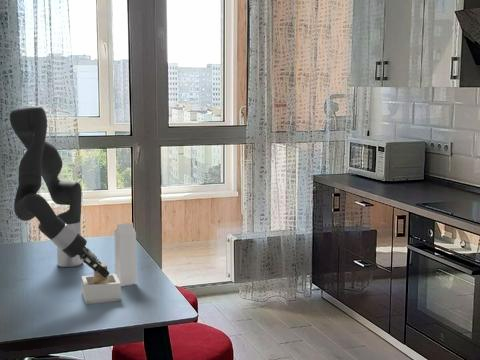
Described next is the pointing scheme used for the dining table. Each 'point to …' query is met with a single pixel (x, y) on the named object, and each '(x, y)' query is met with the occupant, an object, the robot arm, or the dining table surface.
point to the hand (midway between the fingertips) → (106, 272)
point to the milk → (125, 254)
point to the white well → (101, 290)
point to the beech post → (100, 276)
